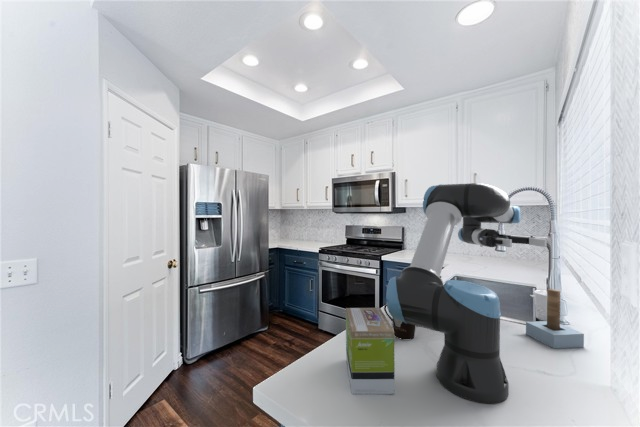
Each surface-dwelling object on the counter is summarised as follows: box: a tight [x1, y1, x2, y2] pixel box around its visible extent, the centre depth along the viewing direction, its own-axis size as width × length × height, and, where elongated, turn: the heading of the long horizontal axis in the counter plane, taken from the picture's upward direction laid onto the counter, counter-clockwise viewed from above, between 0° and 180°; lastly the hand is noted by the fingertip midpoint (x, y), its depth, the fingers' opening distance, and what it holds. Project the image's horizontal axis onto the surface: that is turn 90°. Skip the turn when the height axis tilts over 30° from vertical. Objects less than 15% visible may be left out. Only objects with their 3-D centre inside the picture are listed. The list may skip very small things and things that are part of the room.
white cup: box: [533, 289, 562, 321], centre depth 105 cm, size 8×8×10 cm
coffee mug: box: [383, 303, 416, 340], centre depth 92 cm, size 12×9×10 cm
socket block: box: [525, 320, 585, 349], centre depth 88 cm, size 10×10×4 cm
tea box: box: [345, 307, 396, 395], centre depth 68 cm, size 15×10×15 cm, turn 0°
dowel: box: [546, 288, 561, 331], centre depth 88 cm, size 3×3×16 cm
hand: (528, 243), depth 98 cm, fingers open, 13 cm apart
